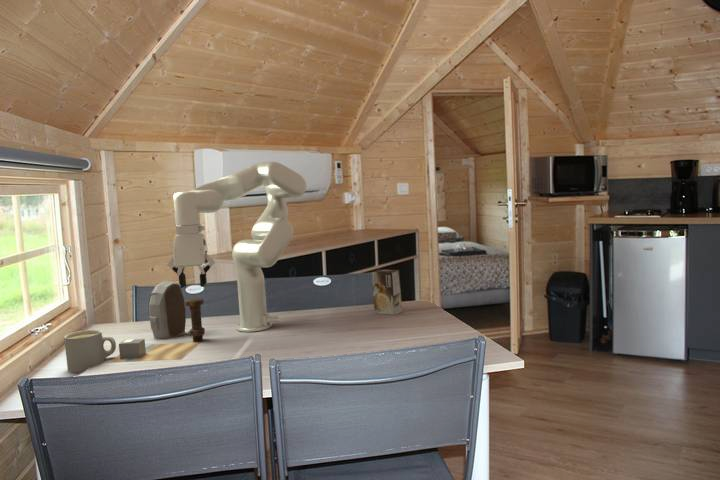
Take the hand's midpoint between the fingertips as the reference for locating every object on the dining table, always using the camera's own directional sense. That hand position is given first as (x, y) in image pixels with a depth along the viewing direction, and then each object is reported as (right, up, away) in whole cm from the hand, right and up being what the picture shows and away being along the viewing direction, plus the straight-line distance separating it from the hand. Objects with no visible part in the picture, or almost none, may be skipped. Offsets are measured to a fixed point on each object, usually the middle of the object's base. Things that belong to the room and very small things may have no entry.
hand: (193, 285), depth 188 cm
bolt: (+1, -20, +2) cm, 20 cm away
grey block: (-15, -20, -12) cm, 28 cm away
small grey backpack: (-12, -19, +13) cm, 27 cm away
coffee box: (+64, -13, +33) cm, 73 cm away
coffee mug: (-25, -23, -15) cm, 37 cm away
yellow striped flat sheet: (-9, -21, -9) cm, 24 cm away
